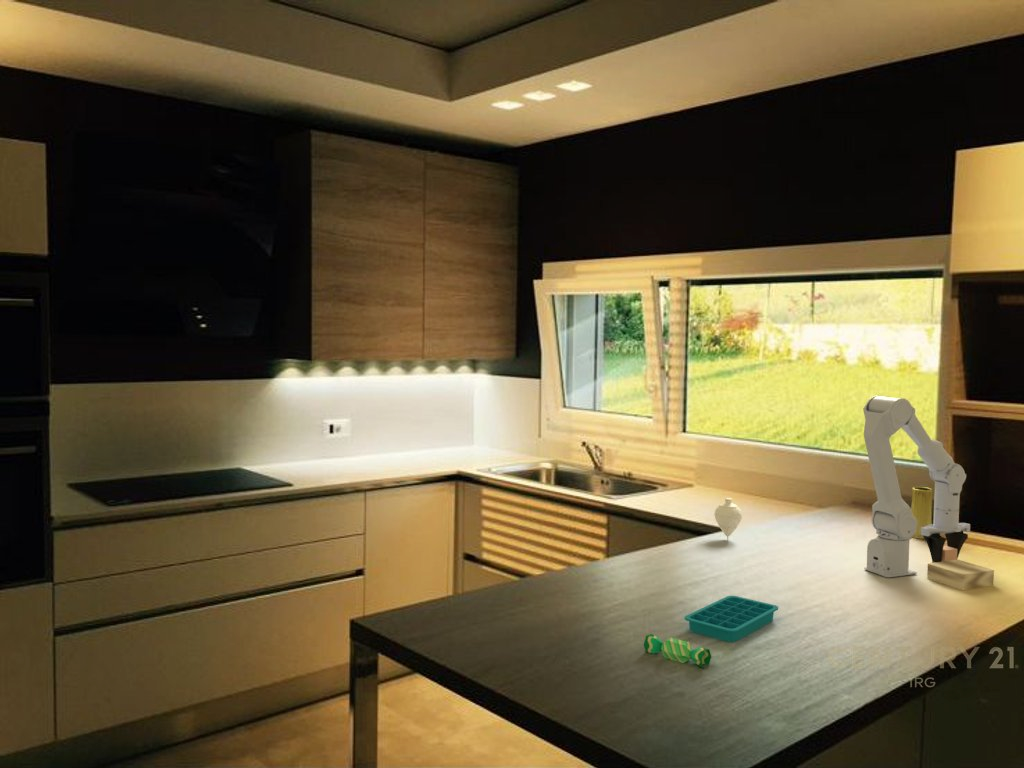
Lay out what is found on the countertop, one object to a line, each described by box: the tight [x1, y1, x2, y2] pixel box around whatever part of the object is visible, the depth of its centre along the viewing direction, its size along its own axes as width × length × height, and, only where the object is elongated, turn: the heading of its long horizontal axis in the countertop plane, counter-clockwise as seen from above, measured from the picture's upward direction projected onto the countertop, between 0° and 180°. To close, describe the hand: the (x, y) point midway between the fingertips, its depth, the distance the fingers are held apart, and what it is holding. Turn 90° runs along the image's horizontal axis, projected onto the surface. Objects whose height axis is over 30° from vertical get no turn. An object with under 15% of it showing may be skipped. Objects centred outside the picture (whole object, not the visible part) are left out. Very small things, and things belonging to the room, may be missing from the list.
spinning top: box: [714, 497, 743, 540], centre depth 246 cm, size 8×8×12 cm
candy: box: [643, 633, 712, 669], centre depth 158 cm, size 12×3×4 cm
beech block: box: [926, 559, 995, 591], centre depth 206 cm, size 10×10×4 cm
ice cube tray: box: [684, 595, 779, 643], centre depth 176 cm, size 12×20×3 cm, turn 137°
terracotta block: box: [931, 544, 958, 563], centre depth 219 cm, size 4×4×5 cm
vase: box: [910, 486, 933, 540], centre depth 249 cm, size 6×6×14 cm
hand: (944, 561), depth 219 cm, fingers open, 5 cm apart
